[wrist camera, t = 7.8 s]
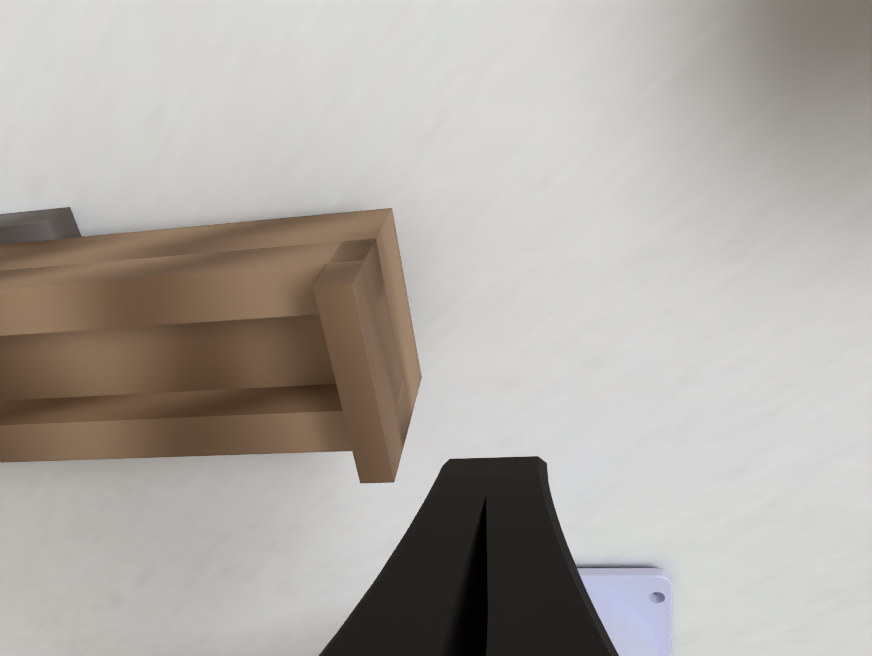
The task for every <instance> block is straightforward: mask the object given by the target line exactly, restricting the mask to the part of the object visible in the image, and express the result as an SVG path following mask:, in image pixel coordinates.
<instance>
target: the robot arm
mask: <svg viewBox="0 0 872 656" xmlns="http://www.w3.org/2000/svg"><path fill="white" fill-rule="evenodd" d="M655 592H659V593H657V594H653V593H655ZM671 632H672V581H671V577H670V574H669V573H668V572H667V571H665V570H663V569H659V568H577V567H576V565H575V562H574V560H573V558H572V555H571V553H570V550H569V548H568V546H567V543H566V540H565V538H564V535H563V532H562V529H561V526H560V523H559V520H558V517H557V514H556V511H555V508H554V504H553V500H552V497H551V493H550V488H549V483H548V473H547V463H546V462H544V461H543V460H542V459H541V458H539V457H538V456H535V457H501V458H468V459H449V460H448V461H447V462H446V463H445V464H444V465H443V466H442V468H441V470H440V473H439V475H438V477H437V479H436V480H435V482H434V484H433V486H432V488H431V490H430V492H429V494H428V495H427V497H426V499H425V501H424V503H423V504H422V506H421V508H420V510H419V511H418V513H417V515H416V516H415V518H414V520H413V521H412V523H411V525H410V527H409V528H408V530H407V532H406V533H405V535H404V536H403V538H402V539H401V541H400V543H399V544H398V546H397V547H396V549H395V550H394V552H393V553H392V555H391V557H390V558H389V560H388V561H387V563H386V564H385V566H384V568H383V569H382V571H381V572H380V574H379V575H378V577H377V578H376V579H375V581H374V582H373V584H372V585H371V587H370V588H369V589H368V591H367V592H366V594H365V595H364V596H363V598H362V599H361V600H360V602H359V603H358V605H357V606H356V607H355V609H354V610H353V611H352V613H351V614H350V616H349V617H348V618H347V620H346V621H345V622H344V624H343V625H342V627H341V628H340V629H339V631H338V632H337V633H336V635H335V636H334V637H333V638H332V640H331V641H330V642H329V643H328V645H327V646H326V647H325V648H324V650H323V651H322V652H321V654H320V655H319V656H671Z"/></svg>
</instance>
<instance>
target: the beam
mask: <svg viewBox="0 0 872 656" xmlns="http://www.w3.org/2000/svg"><path fill="white" fill-rule="evenodd" d="M421 378H422V377H421V371H420V366H419V360H418V354H417V349H416V343H415V337H414V331H413V326H412V320H411V314H410V309H409V303H408V297H407V291H406V286H405V280H404V274H403V269H402V263H401V257H400V252H399V246H398V240H397V234H396V229H395V223H394V217H393V212H392V208H388V209H377V210H366V211H356V212H345V213H334V214H323V215H313V216H302V217H291V218H281V219H270V220H259V221H248V222H238V223H227V224H216V225H205V226H195V227H184V228H173V229H162V230H152V231H141V232H130V233H119V234H109V235H98V236H87V237H81V235H80V232H79V229H78V227H77V224H76V222H75V219H74V217H73V214H72V212H71V209H70V207H68V208H58V209H48V210H38V211H28V212H19V213H9V214H0V462H27V461H58V460H88V459H119V458H150V457H180V456H211V455H241V454H272V453H303V452H333V451H353V455H354V459H355V463H356V467H357V472H358V476H359V480H360V483H388V482H394V481H395V477H396V473H397V470H398V466H399V462H400V458H401V454H402V450H403V447H404V443H405V439H406V435H407V431H408V427H409V424H410V420H411V416H412V412H413V408H414V405H415V401H416V397H417V393H418V389H419V385H420V382H421Z"/></svg>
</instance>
